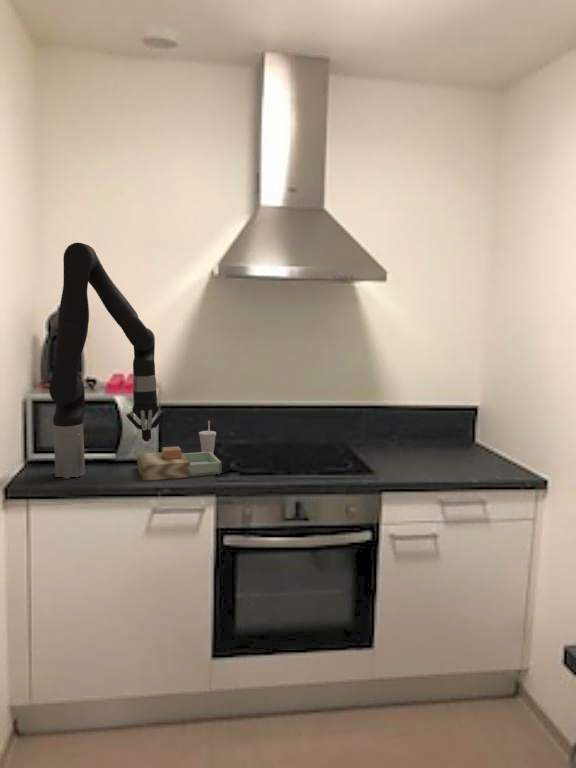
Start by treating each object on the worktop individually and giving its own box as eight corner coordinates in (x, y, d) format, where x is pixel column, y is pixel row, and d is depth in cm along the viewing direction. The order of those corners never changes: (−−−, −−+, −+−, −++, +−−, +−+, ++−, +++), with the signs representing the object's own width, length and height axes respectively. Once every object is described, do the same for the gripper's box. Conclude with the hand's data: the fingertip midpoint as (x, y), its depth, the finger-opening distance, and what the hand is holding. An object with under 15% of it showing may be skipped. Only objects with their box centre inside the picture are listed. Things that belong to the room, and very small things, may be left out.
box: (190, 476, 213) (190, 465, 212) (181, 464, 228) (181, 453, 227) (221, 474, 216) (221, 462, 216) (210, 462, 231) (210, 451, 231)
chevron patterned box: (143, 480, 208) (143, 465, 207) (137, 468, 222) (137, 454, 222) (190, 476, 213) (189, 462, 212) (180, 464, 228) (180, 450, 227)
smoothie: (213, 461, 233) (213, 422, 231) (196, 459, 234) (196, 422, 232) (218, 456, 239) (218, 419, 237) (202, 455, 241) (201, 418, 239)
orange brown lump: (165, 459, 214) (164, 451, 214) (162, 455, 219) (162, 447, 219) (181, 458, 216) (181, 449, 216) (178, 454, 221) (178, 446, 221)
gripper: (125, 391, 206) (127, 444, 208) (166, 389, 210) (168, 441, 213) (122, 388, 213) (125, 440, 215) (163, 386, 217) (164, 436, 220)
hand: (146, 440), depth 214 cm, fingers closed
